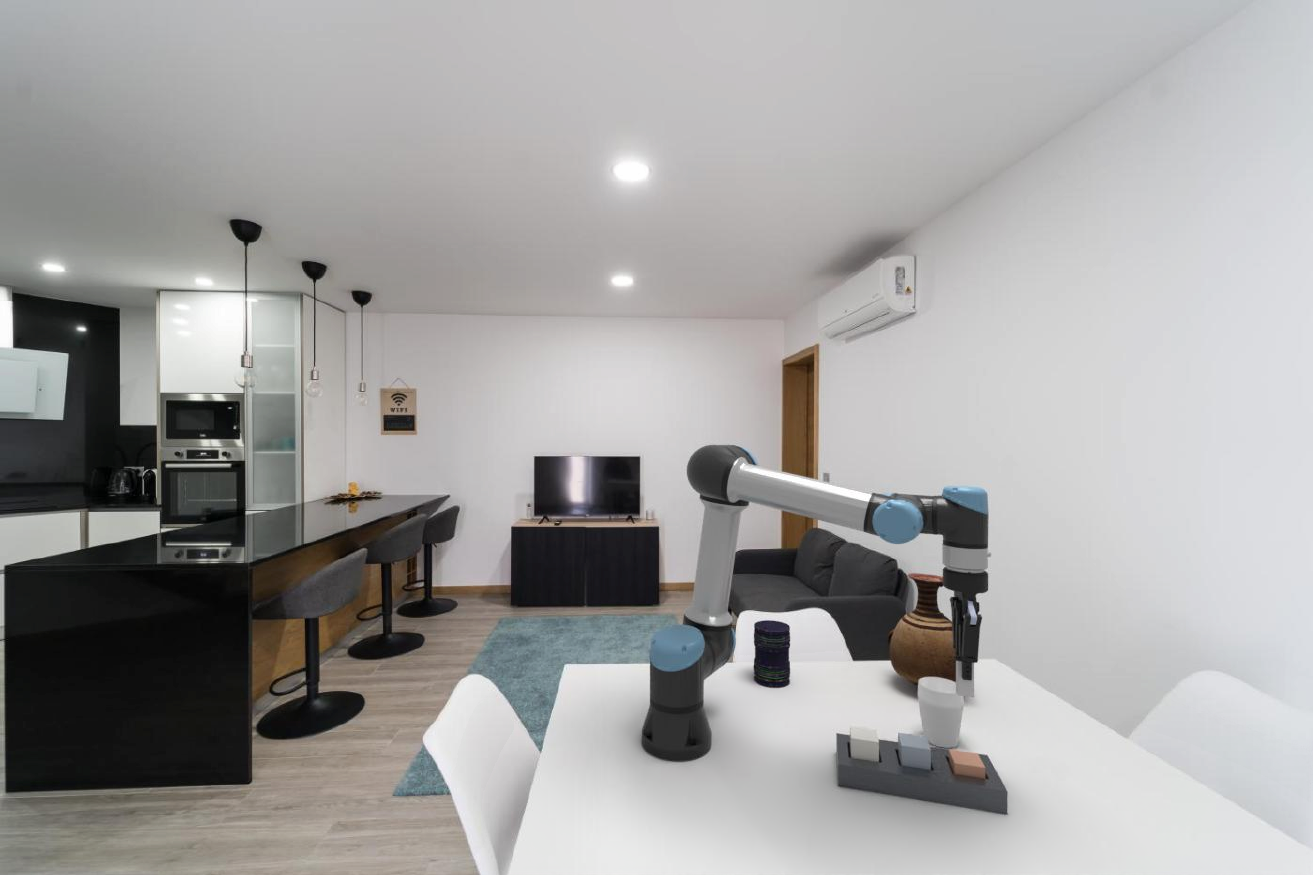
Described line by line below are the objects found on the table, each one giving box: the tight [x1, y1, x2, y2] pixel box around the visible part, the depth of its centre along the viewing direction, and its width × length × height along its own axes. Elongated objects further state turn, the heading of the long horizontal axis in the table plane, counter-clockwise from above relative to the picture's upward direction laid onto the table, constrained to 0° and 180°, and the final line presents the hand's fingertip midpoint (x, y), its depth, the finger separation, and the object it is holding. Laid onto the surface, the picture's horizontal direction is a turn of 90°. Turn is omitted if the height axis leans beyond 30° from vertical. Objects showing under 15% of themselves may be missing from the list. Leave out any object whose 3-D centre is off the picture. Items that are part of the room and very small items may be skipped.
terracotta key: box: [948, 748, 985, 779], centre depth 103 cm, size 5×5×5 cm
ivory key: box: [849, 725, 879, 762], centre depth 108 cm, size 5×5×5 cm
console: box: [835, 733, 1009, 815], centre depth 106 cm, size 28×12×4 cm, turn 73°
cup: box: [917, 677, 965, 749], centre depth 121 cm, size 9×9×12 cm
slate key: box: [897, 732, 931, 770], centre depth 106 cm, size 5×5×5 cm
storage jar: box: [753, 619, 791, 689], centre depth 152 cm, size 10×10×15 cm
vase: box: [886, 572, 958, 687], centre depth 146 cm, size 21×18×30 cm
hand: (964, 694), depth 104 cm, fingers closed
